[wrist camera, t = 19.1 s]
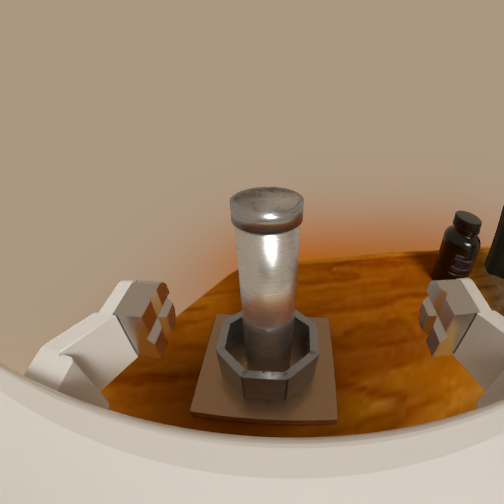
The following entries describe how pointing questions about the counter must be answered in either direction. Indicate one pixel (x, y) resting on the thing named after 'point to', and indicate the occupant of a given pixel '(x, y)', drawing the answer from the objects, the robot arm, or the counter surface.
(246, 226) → the grey tall capped cylinder
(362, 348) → the counter surface
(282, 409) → the duct collar
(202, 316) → the counter surface
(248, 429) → the counter surface
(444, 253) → the supplement bottle
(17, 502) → the robot arm
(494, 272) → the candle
